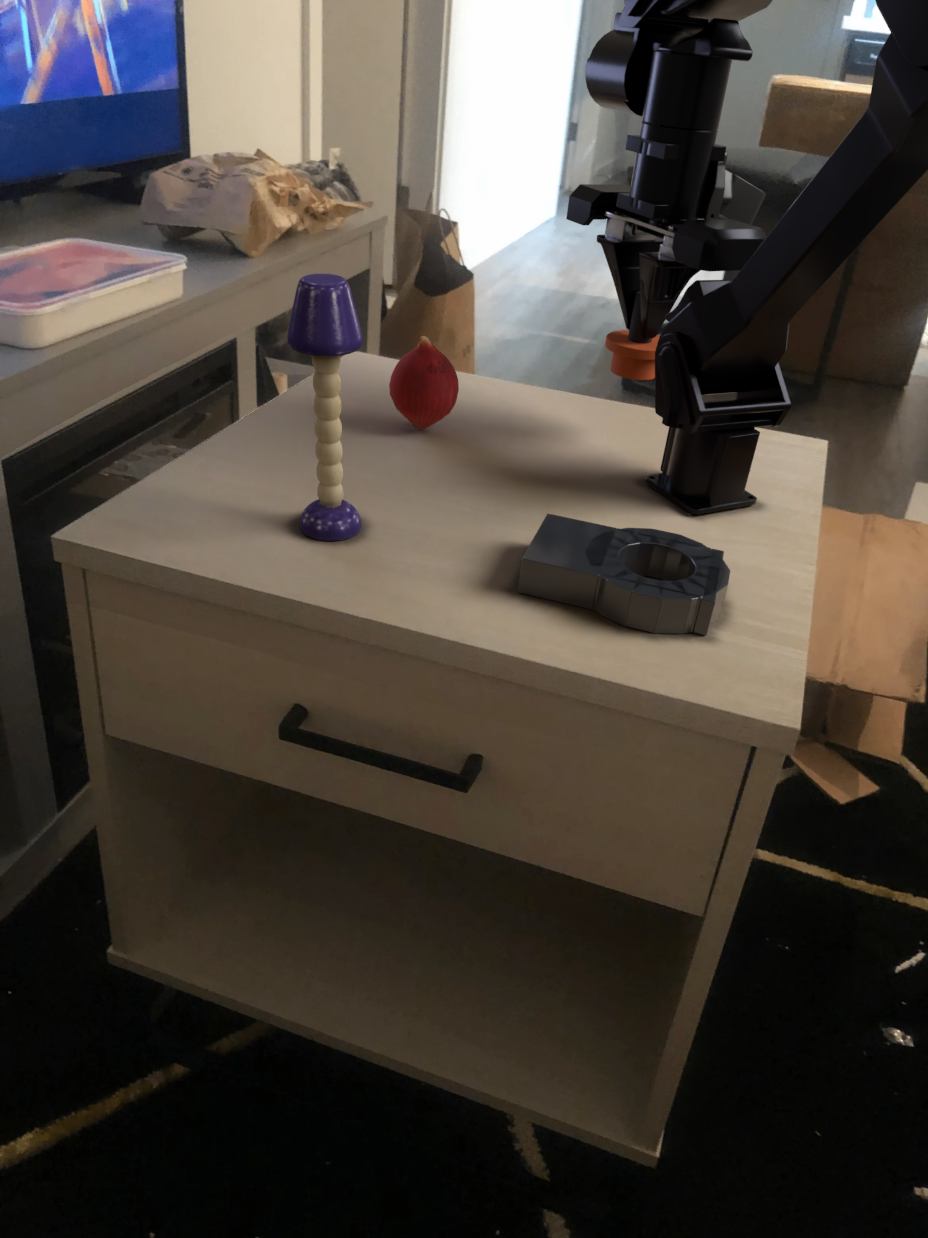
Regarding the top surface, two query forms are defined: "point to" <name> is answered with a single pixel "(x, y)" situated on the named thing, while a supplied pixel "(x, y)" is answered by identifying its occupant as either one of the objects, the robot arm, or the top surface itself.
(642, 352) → the stopper
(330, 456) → the toy lamp
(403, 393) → the onion
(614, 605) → the plate
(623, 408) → the top surface
